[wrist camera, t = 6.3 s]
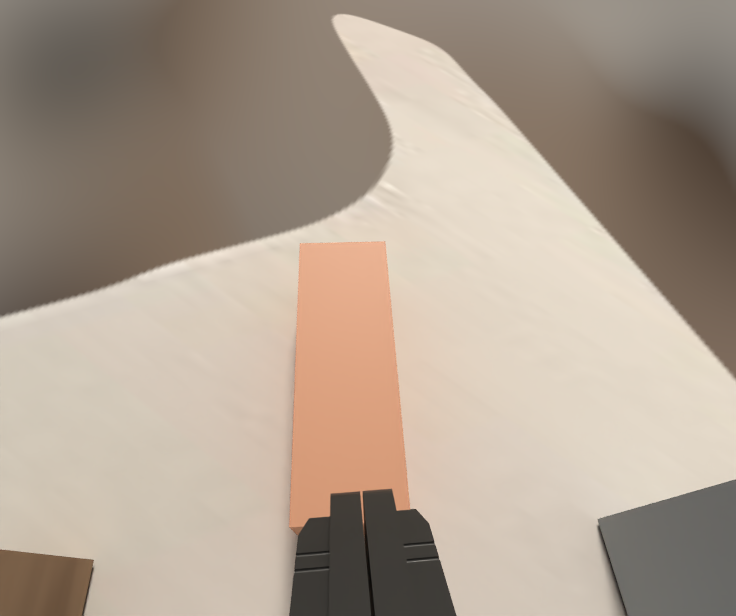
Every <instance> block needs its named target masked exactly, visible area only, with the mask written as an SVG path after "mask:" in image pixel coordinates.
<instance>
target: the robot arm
mask: <svg viewBox="0 0 736 616" xmlns="http://www.w3.org/2000/svg"><path fill="white" fill-rule="evenodd" d="M363 515H364V530H363V519H362V508H361V496H360V491H357V492H344V493H332V494H330V516H329V517H317V518H309V519H308V521H307V522H306V524H305V525H304V527H303V528H302V530H301V531H300V533H299V535H298V542H297V551H296V560H295V573H294V579H293V588H292V597H291V606H290V615H289V616H456V613H455V610H454V606H453V603H452V599H451V596H450V593H449V589H448V586H447V583H446V579H445V576H444V573H443V569H442V566H441V562H440V560H439V556H438V552H437V549H436V546H435V544H434V539H433V536H432V532H431V529H430V525H429V523H428V522H427V521H426V520H425V519H424V518H423V516H422V515H421V514H420V513H419V512H418V511H417V510H416V509H411V510H399V511H397V510H396V505H395V500H394V495H393V491H392V489H380V490H367V491H363ZM364 536H365V542H364Z"/></svg>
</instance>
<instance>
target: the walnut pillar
mask: <svg viewBox="0 0 736 616" xmlns="http://www.w3.org/2000/svg"><path fill="white" fill-rule="evenodd" d="M93 561H94V560H89V559H80V558H71V557H62V556H53V555H44V554H35V553H26V552H18V551H9V550H0V616H82V612H83V607H84V603H85V598H86V594H87V589H88V584H89V580H90V575H91V570H92V566H93Z"/></svg>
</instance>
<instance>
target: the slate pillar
mask: <svg viewBox="0 0 736 616" xmlns="http://www.w3.org/2000/svg"><path fill="white" fill-rule="evenodd" d="M598 522H599V526H600V529H601V532H602V535H603V538H604V541H605V545H606V548H607V551H608V554H609V557H610V561H611V564H612V567H613V570H614V573H615V576H616V580H617V583H618V586H619V589H620V592H621V595H622V599H623V602H624V605H625V608H626V611H627V614H628V616H736V480H732V481H729V482H725V483H722V484H718V485H715V486H711V487H708V488H704V489H701V490H697V491H694V492H690V493H687V494H684V495H680V496H677V497H673V498H670V499H666V500H663V501H659V502H656V503H652V504H649V505H645V506H642V507H638V508H635V509H631V510H628V511H624V512H621V513H617V514H614V515H610V516H607V517H603V518H600V519H598Z"/></svg>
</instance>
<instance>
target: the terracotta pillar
mask: <svg viewBox="0 0 736 616" xmlns="http://www.w3.org/2000/svg"><path fill="white" fill-rule="evenodd" d="M380 489H392V491H393V495H394V500H395V505H396V510H397V511H399V510H410V503H409V492H408V482H407V471H406V460H405V449H404V439H403V428H402V417H401V406H400V396H399V385H398V374H397V363H396V352H395V342H394V331H393V320H392V309H391V299H390V288H389V277H388V266H387V256H386V245H385V242H343V243H300V255H299V282H298V309H297V335H296V362H295V389H294V416H293V443H292V470H291V497H290V524H289V528H291V529H292V530H293V531H294V532H295V533H296V534H297V535H299V533H300V531H301V530H302V528H303V527H304V525H305V524H306V522H307V521H308V519H309V518H317V517H329V516H330V494H332V493H344V492H357V491H360V496H361V508H362V519H363V530H364V515H363V491H367V490H380Z"/></svg>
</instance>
